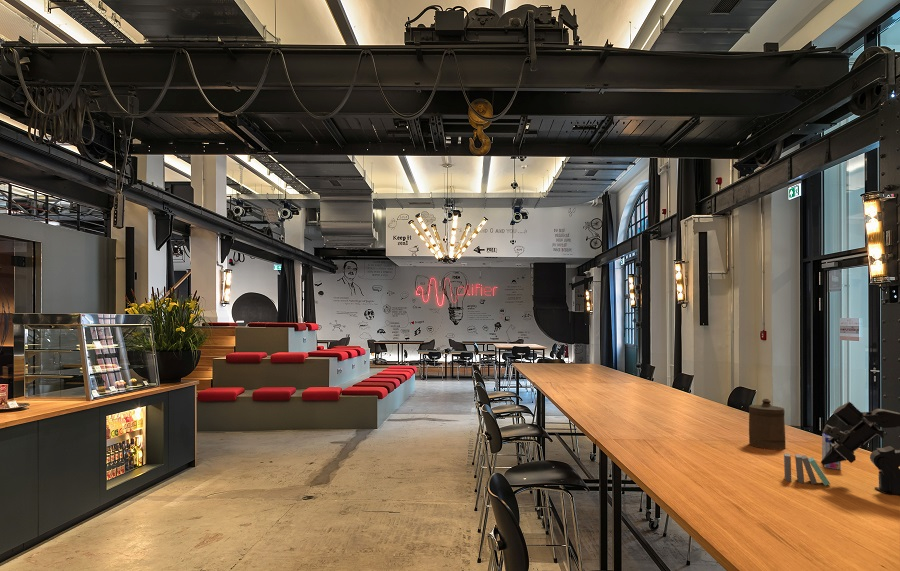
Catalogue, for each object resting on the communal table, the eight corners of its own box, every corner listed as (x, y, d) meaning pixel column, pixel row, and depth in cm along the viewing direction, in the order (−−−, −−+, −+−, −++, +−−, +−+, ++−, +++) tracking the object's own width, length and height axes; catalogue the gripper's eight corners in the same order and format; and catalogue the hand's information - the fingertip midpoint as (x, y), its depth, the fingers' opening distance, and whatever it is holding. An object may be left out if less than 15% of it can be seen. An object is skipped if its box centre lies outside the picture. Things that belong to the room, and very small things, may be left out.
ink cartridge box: (842, 470, 216) (840, 432, 217) (825, 468, 218) (824, 431, 219) (838, 464, 224) (836, 428, 225) (821, 462, 227) (820, 427, 228)
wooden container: (785, 445, 259) (784, 398, 261) (785, 451, 247) (784, 402, 248) (750, 441, 267) (749, 395, 269) (748, 447, 255) (747, 399, 256)
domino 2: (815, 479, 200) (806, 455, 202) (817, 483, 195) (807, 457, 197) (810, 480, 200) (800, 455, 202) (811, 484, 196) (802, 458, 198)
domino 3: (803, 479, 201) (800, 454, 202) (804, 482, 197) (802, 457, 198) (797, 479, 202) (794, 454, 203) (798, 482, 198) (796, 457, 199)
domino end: (790, 478, 203) (789, 453, 204) (791, 481, 199) (790, 456, 200) (784, 477, 204) (783, 453, 205) (785, 480, 200) (785, 455, 200)
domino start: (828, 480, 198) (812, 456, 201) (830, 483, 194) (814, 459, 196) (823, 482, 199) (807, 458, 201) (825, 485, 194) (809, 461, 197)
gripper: (834, 414, 204) (800, 441, 208) (842, 422, 187) (805, 451, 192) (861, 438, 200) (825, 464, 204) (872, 448, 183) (833, 477, 188)
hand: (821, 463), depth 197 cm, fingers closed
